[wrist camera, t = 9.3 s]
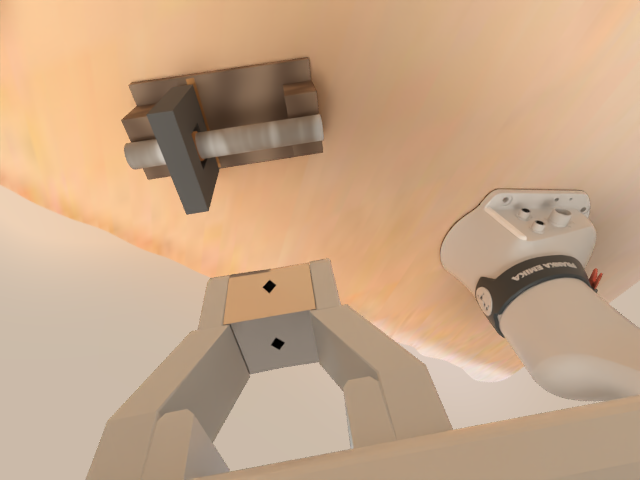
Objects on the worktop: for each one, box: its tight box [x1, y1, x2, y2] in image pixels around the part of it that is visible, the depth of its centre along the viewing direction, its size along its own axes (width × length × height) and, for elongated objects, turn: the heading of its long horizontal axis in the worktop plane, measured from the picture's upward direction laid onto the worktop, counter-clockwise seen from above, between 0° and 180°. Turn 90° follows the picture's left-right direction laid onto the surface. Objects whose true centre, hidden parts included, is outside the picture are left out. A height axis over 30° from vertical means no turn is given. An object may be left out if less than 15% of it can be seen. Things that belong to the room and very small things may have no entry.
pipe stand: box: [121, 57, 324, 180], centre depth 35 cm, size 18×10×8 cm, turn 96°
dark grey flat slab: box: [146, 84, 219, 214], centre depth 32 cm, size 2×9×9 cm, turn 6°
